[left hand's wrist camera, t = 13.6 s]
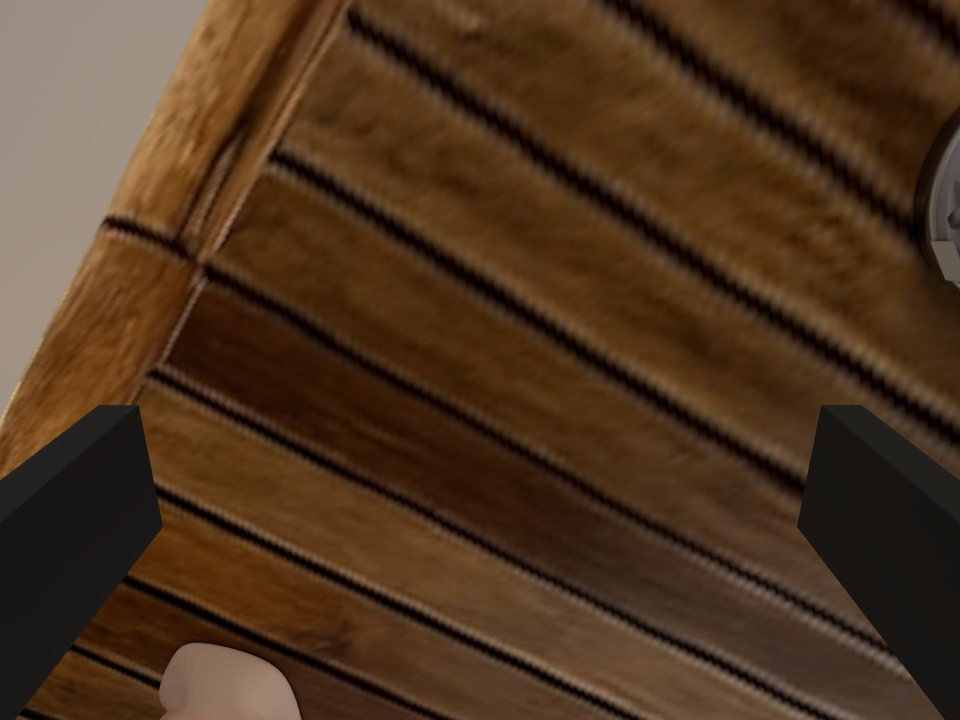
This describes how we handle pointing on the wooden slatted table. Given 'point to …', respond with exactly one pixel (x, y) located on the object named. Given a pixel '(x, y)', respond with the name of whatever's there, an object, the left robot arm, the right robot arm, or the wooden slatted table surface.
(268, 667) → the anatomical model
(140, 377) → the wooden slatted table surface
